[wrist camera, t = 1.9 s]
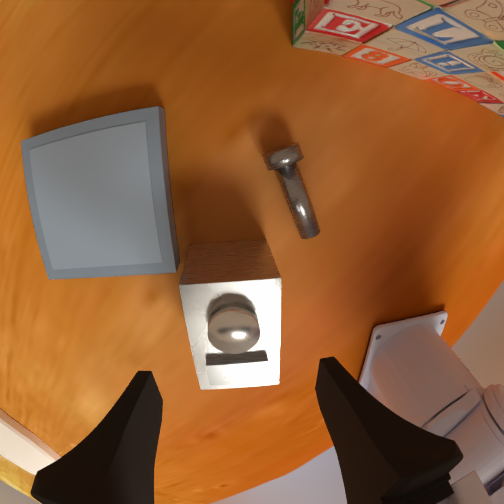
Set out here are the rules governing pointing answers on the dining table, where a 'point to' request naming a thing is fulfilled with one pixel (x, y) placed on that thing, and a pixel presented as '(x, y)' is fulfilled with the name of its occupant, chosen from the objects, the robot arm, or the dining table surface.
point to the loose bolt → (293, 186)
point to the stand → (103, 196)
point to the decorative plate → (24, 446)
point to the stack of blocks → (414, 39)
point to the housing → (233, 313)
